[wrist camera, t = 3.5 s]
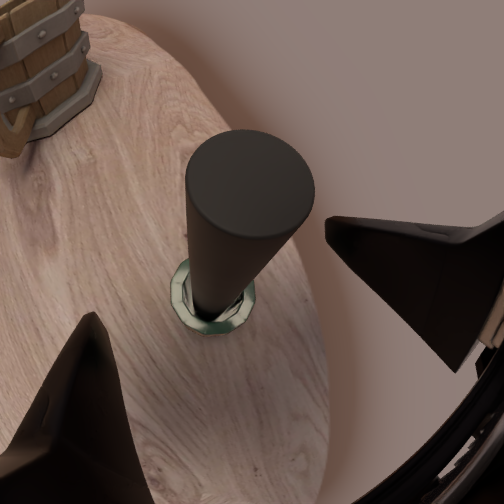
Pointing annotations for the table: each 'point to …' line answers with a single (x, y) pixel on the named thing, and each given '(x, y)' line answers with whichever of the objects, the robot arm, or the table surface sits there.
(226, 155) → the stylus
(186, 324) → the pen pot
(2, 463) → the robot arm
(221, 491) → the table surface
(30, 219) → the table surface
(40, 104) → the tankard
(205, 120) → the table surface
